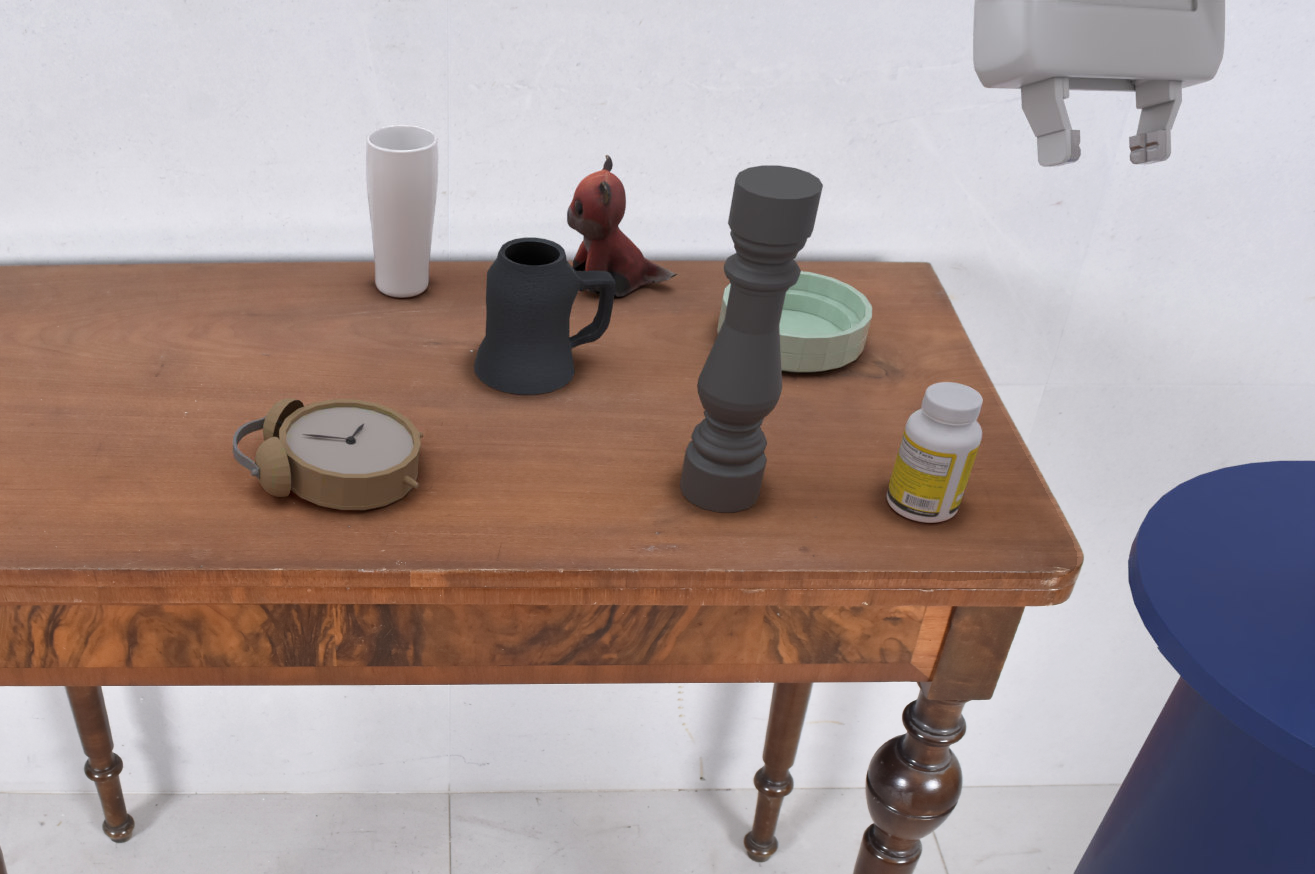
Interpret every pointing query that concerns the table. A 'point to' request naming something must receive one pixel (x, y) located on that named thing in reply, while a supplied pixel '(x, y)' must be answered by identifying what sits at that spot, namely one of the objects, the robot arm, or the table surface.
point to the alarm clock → (334, 453)
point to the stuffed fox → (608, 234)
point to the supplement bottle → (936, 454)
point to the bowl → (819, 323)
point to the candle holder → (749, 337)
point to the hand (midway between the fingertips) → (1106, 163)
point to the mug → (536, 317)
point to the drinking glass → (402, 206)
